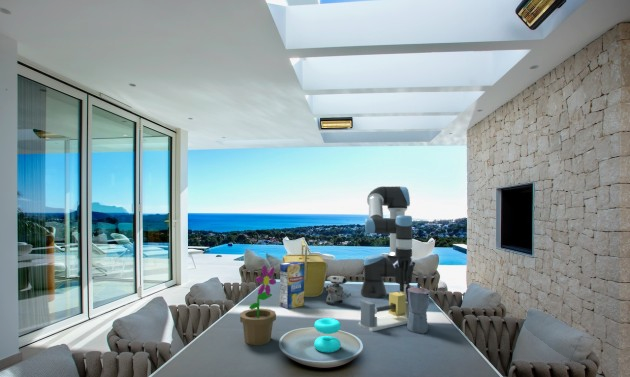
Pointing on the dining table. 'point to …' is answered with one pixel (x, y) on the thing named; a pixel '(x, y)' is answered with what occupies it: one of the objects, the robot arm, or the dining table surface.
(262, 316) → the flowerpot
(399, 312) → the yellow block on rod
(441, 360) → the dining table surface
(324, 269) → the picnic basket
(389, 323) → the linear slide rail
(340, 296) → the figurine
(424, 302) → the moka pot
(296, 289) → the beverage box
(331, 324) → the donuts
